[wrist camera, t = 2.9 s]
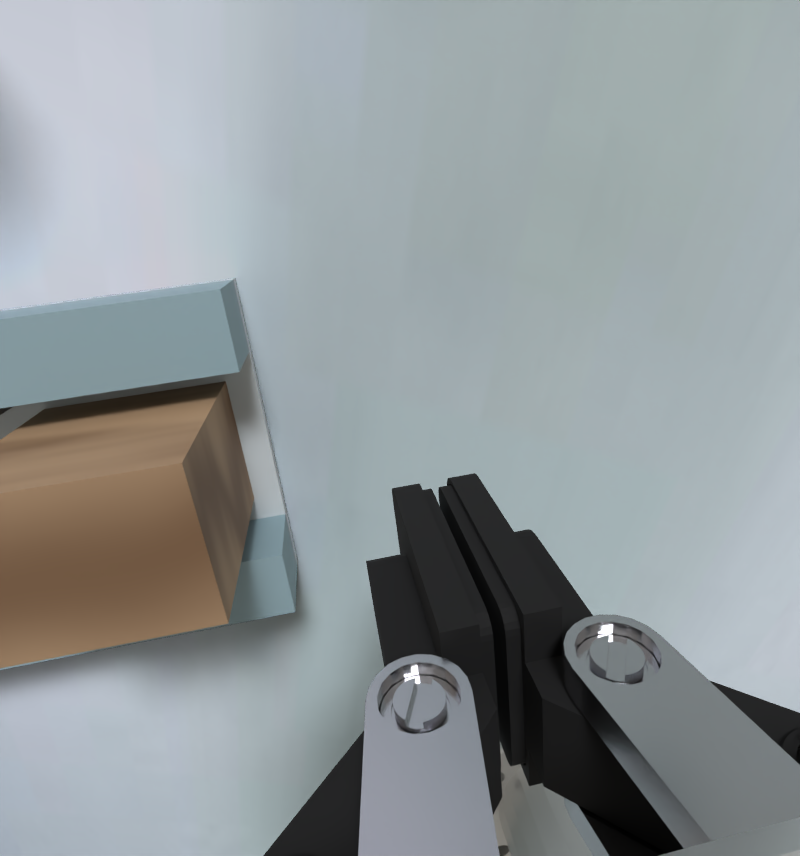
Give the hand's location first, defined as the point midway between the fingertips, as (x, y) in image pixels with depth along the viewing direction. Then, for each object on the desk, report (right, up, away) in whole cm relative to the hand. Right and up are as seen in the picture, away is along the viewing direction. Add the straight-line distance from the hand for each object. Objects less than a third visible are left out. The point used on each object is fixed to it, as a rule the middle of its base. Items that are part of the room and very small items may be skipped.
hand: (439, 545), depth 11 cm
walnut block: (-9, +1, +9) cm, 13 cm away
